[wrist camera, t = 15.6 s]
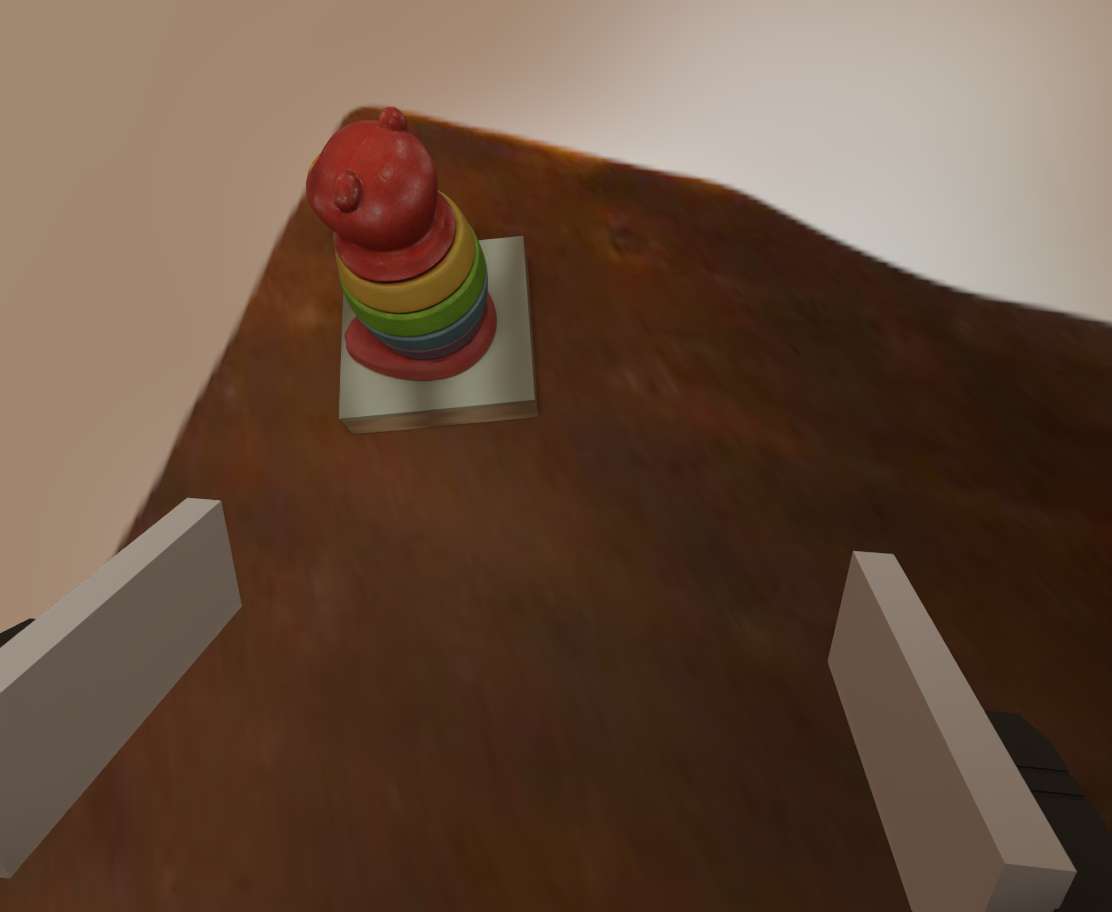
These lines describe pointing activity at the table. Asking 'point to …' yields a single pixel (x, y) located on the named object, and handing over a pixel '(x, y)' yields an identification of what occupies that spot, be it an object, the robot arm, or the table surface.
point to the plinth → (472, 395)
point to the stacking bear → (401, 253)
